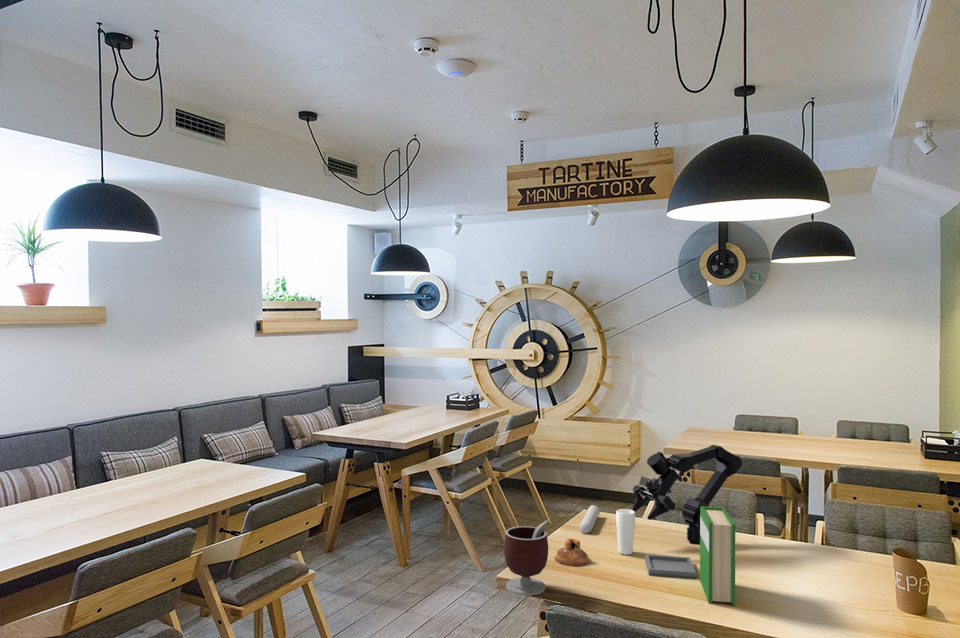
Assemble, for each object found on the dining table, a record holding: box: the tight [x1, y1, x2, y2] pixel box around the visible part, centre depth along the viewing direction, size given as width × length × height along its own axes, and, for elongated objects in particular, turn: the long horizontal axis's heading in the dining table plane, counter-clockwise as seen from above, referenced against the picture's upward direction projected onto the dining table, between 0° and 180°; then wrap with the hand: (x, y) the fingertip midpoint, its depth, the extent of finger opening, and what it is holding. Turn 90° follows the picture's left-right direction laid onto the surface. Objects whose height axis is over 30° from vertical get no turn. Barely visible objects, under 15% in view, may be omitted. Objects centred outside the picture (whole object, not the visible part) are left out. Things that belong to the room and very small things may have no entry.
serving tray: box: [644, 553, 697, 580], centre depth 214 cm, size 15×14×2 cm
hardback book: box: [699, 506, 736, 607], centre depth 196 cm, size 18×7×24 cm, turn 169°
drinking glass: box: [615, 508, 636, 556], centre depth 230 cm, size 7×7×15 cm
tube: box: [579, 504, 601, 534], centre depth 262 cm, size 5×5×25 cm
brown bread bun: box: [554, 537, 589, 567], centre depth 222 cm, size 12×12×7 cm
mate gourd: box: [503, 519, 550, 597], centre depth 199 cm, size 16×14×20 cm
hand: (640, 515), depth 232 cm, fingers open, 9 cm apart
